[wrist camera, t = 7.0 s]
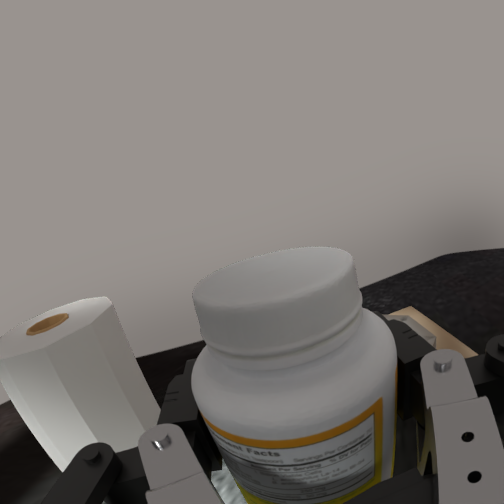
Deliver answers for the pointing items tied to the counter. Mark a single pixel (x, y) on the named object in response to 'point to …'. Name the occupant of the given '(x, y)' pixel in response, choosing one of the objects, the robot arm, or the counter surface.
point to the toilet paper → (77, 380)
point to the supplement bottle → (296, 377)
